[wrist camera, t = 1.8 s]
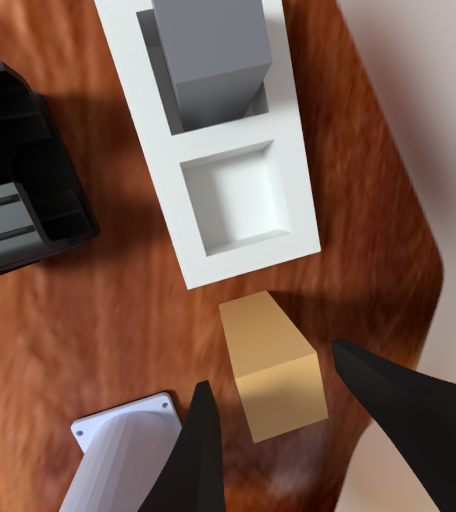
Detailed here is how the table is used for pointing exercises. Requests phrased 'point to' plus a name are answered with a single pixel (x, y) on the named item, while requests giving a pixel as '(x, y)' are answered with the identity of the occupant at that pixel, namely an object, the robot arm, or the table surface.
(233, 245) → the socket strip
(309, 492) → the table surface
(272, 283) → the table surface
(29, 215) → the end cap
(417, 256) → the table surface
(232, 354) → the tan rectangular block
